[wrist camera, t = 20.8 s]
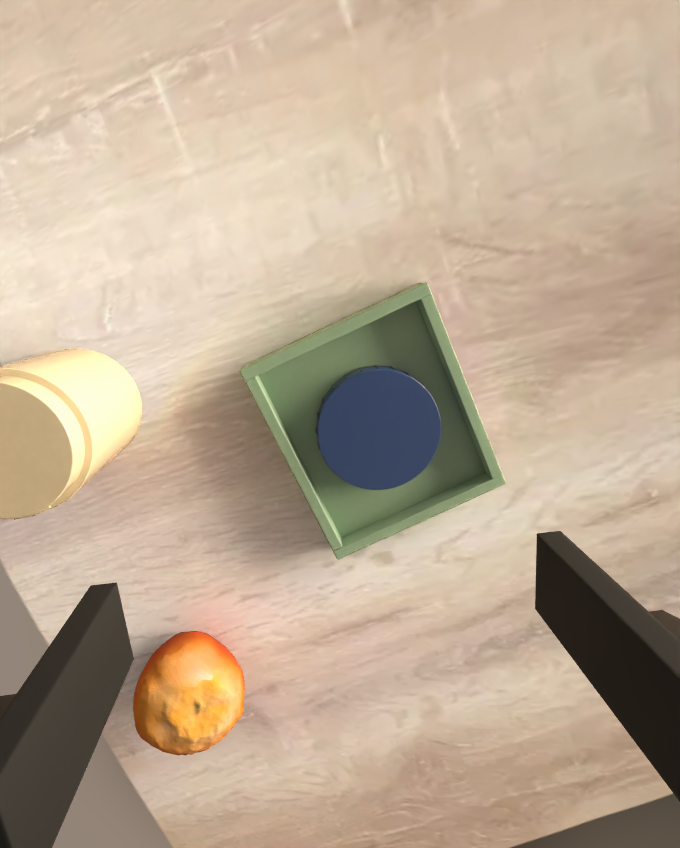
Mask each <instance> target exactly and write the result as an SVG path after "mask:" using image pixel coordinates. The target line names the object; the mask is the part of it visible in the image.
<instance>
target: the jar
mask: <svg viewBox="0 0 680 848" xmlns="http://www.w3.org/2000/svg"><path fill="white" fill-rule="evenodd" d="M141 419H142V402H141V397H140V394H139V391H138V388H137V386H136V384H135V382H134V381H133V379H132V378H131V376H130V375H129V374H128V373H127V371H126V370H125V369H124V368H123V367H122V366H121V365H119V364H118V363H117V362H115V361H114V360H113V359H111V358H109V357H107V356H106V355H103V354H101V353H99V352H95V351H92V350H87V349H74V348H73V349H65V350H61V351H57V352H53V353H49V354H45V355H41V356H37V357H33V358H29V359H25V360H22V361H18V362H14V363H10V364H6V365H2V366H0V518H2V519H14V520H15V519H20V518H25V517H30V516H32V517H33V516H35V515H37V514H39V513H41V512H43V511H45V510H48V509H51V508H53V507H56V506H58V505H60V504H62V503H63V502H65V501H67V500H68V499H69V498H71V497H72V496H73V495H74V494H75V493H76V492H77V491H79V490H80V489H81V488H82V487H83V486H84V485H85V484H86V483H87V482H88V481H90V480H91V479H92V478H93V477H94V476H95V475H96V474H97V473H98V472H99V471H100V470H102V469H103V468H104V467H105V466H106V465H107V464H108V463H109V462H110V461H111V460H112V459H114V458H115V457H116V456H117V455H118V454H119V453H120V452H121V451H122V450H123V449H125V448H126V447H127V446H128V445H129V444H130V443H131V441H132V440H133V439H134V437H135V435H136V434H137V432H138V429H139V427H140V424H141Z"/></svg>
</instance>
